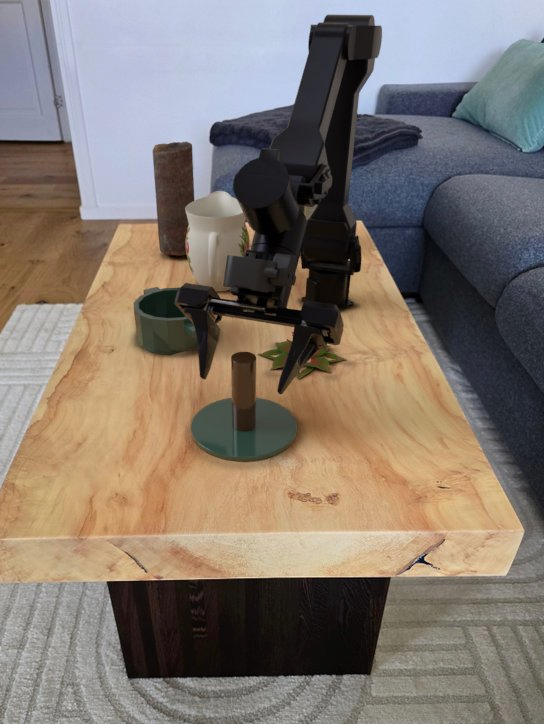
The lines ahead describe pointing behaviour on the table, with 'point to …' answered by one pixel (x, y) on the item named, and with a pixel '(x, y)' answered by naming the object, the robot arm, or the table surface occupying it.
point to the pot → (163, 323)
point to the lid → (243, 419)
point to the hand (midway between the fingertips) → (240, 385)
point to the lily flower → (315, 362)
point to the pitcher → (214, 237)
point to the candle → (173, 194)
